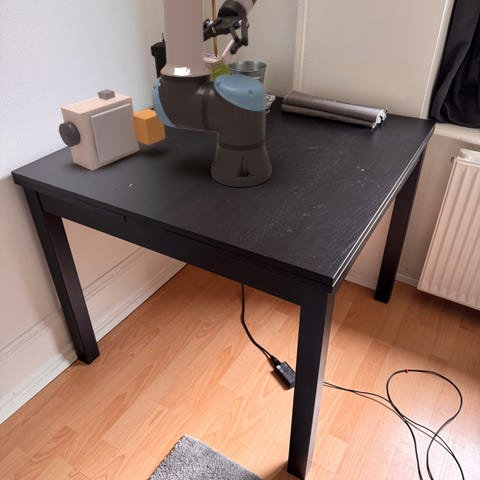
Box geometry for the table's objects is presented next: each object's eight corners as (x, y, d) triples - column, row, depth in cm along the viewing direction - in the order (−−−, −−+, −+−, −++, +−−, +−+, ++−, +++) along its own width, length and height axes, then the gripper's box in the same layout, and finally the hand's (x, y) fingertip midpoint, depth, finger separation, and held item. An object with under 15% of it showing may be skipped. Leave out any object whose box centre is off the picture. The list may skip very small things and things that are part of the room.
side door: (166, 145, 125) (161, 102, 119) (114, 167, 114) (105, 121, 107) (151, 139, 129) (145, 97, 122) (99, 161, 117) (89, 116, 110)
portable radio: (175, 122, 145) (167, 38, 131) (157, 121, 146) (147, 38, 132) (182, 113, 152) (176, 33, 137) (165, 112, 153) (157, 32, 138)
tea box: (181, 98, 165) (177, 56, 157) (198, 91, 172) (196, 50, 164) (214, 105, 158) (212, 61, 150) (231, 98, 165) (230, 55, 157)
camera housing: (140, 150, 127) (132, 91, 118) (87, 173, 116) (72, 110, 106) (120, 143, 132) (111, 86, 122) (67, 165, 120) (52, 103, 111)
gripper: (277, 20, 126) (247, 73, 118) (204, 24, 138) (172, 71, 130) (270, -5, 120) (237, 48, 112) (194, 0, 132) (160, 49, 124)
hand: (202, 61), depth 121 cm, fingers open, 13 cm apart
